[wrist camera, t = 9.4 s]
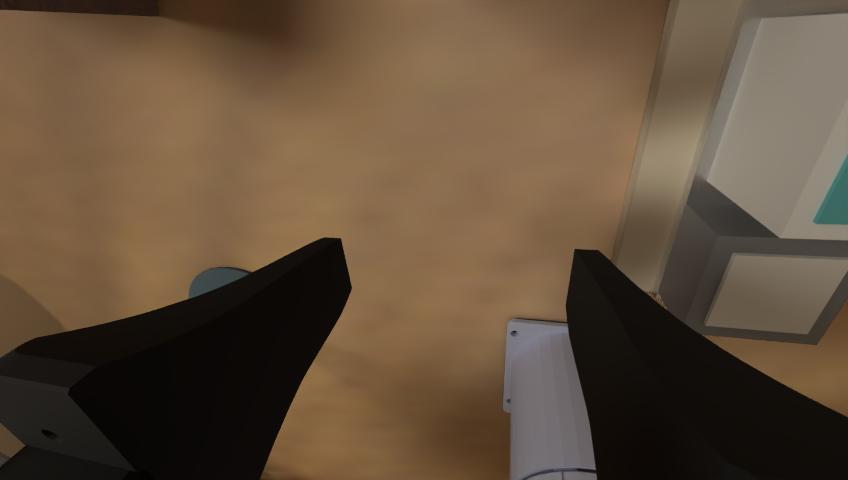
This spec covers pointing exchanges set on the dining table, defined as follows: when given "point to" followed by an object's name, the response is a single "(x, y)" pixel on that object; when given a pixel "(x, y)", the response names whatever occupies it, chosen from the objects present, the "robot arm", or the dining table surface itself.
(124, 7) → the tissue box cover
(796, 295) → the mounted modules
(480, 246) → the dining table surface
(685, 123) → the rail board
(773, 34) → the block
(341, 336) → the dining table surface
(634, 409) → the robot arm
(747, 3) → the din rail
